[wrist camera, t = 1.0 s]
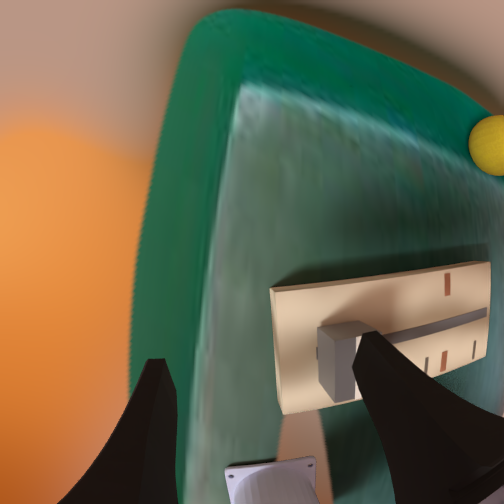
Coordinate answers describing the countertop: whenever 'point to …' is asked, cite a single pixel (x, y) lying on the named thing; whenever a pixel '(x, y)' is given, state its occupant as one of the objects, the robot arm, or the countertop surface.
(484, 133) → the lemon
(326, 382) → the fader
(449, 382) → the countertop surface
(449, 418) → the robot arm
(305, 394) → the console
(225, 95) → the countertop surface
